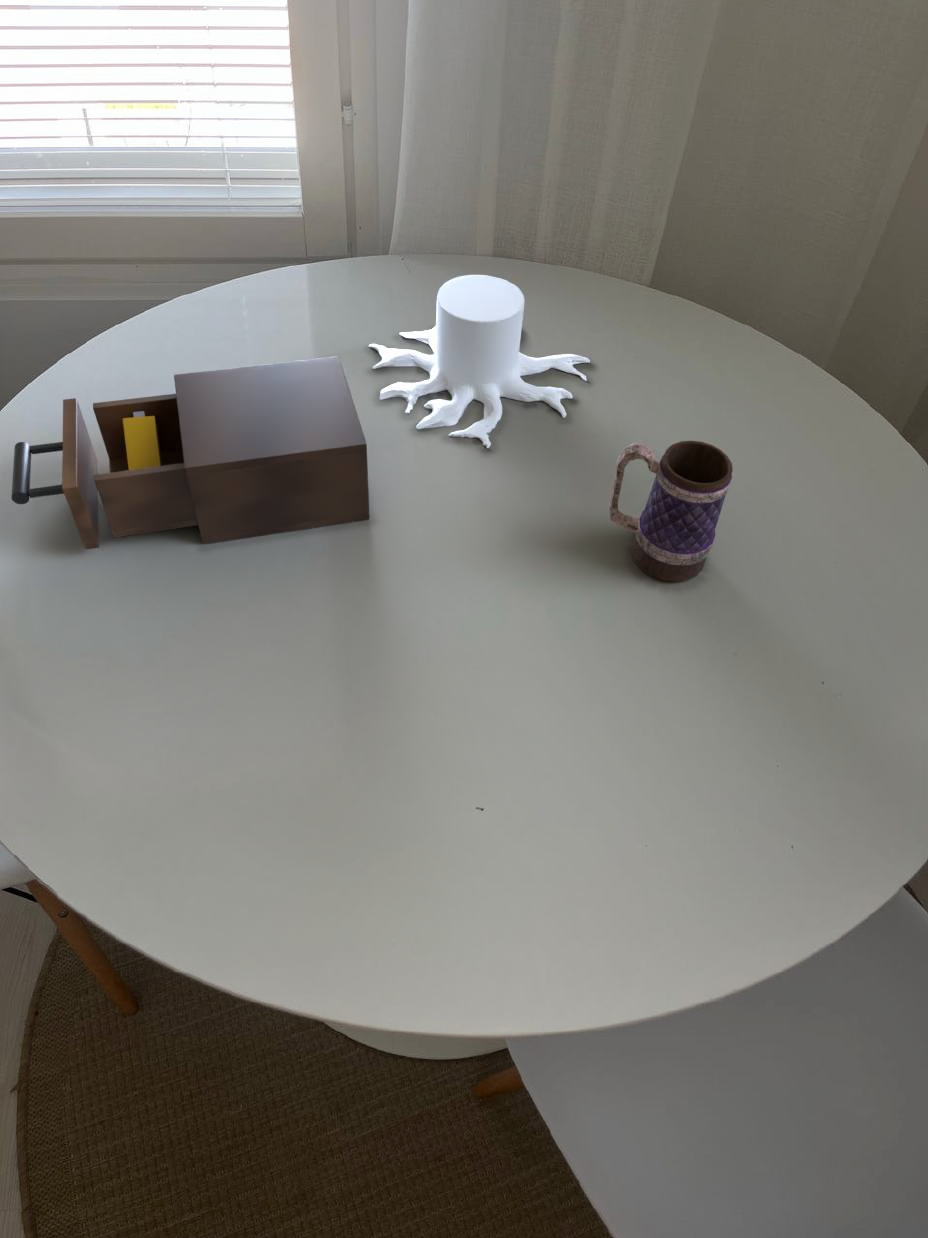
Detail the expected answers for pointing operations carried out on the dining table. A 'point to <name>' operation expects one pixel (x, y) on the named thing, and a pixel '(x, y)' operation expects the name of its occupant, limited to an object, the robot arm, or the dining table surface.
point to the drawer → (115, 472)
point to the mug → (675, 507)
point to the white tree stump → (475, 356)
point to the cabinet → (272, 448)
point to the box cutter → (142, 441)
